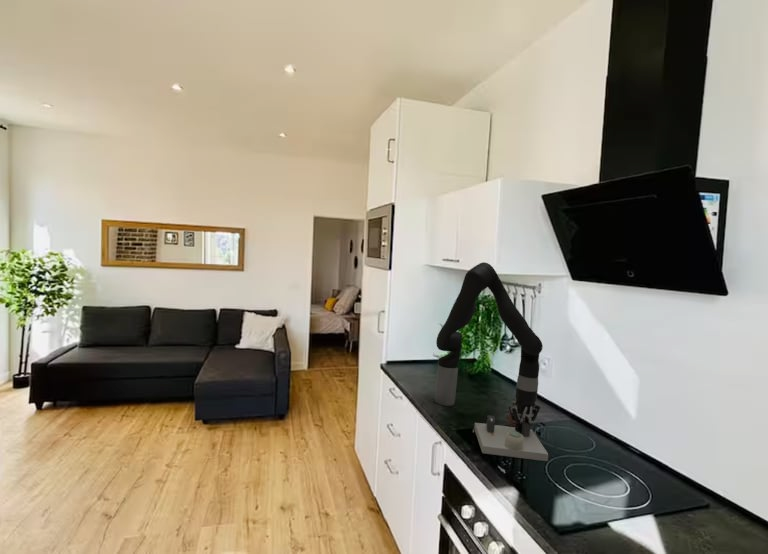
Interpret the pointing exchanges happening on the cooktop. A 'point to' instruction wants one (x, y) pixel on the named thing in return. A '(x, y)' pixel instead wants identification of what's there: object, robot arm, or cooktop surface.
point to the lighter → (511, 422)
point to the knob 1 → (490, 423)
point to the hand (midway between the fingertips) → (522, 431)
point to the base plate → (504, 451)
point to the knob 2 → (525, 428)
